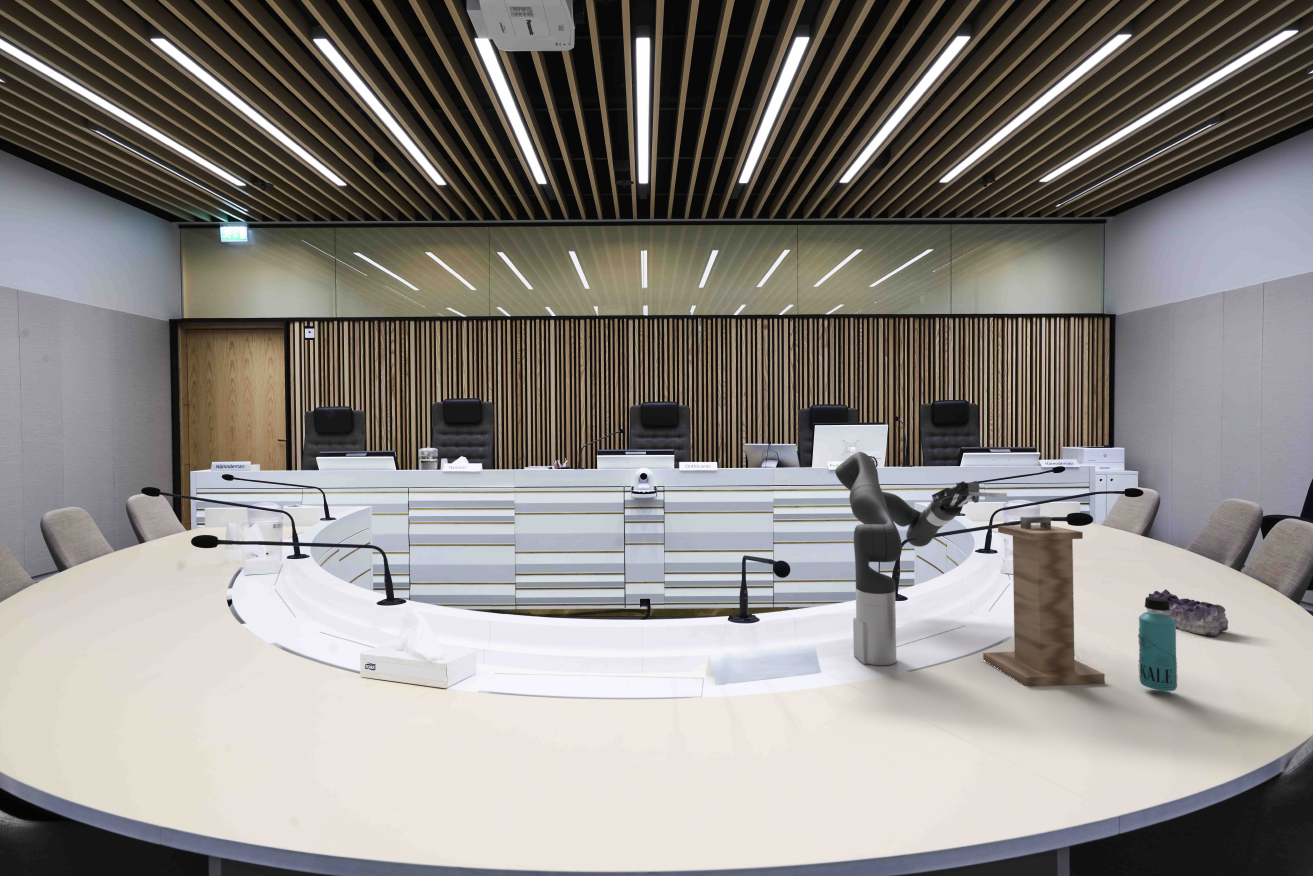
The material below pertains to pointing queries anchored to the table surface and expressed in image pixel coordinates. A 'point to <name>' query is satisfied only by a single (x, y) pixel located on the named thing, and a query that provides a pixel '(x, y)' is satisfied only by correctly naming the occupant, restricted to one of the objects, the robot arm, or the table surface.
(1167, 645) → the beverage bottle
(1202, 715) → the table surface
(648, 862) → the table surface
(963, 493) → the steel bar
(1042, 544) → the walnut pedestal
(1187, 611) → the geode
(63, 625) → the table surface
